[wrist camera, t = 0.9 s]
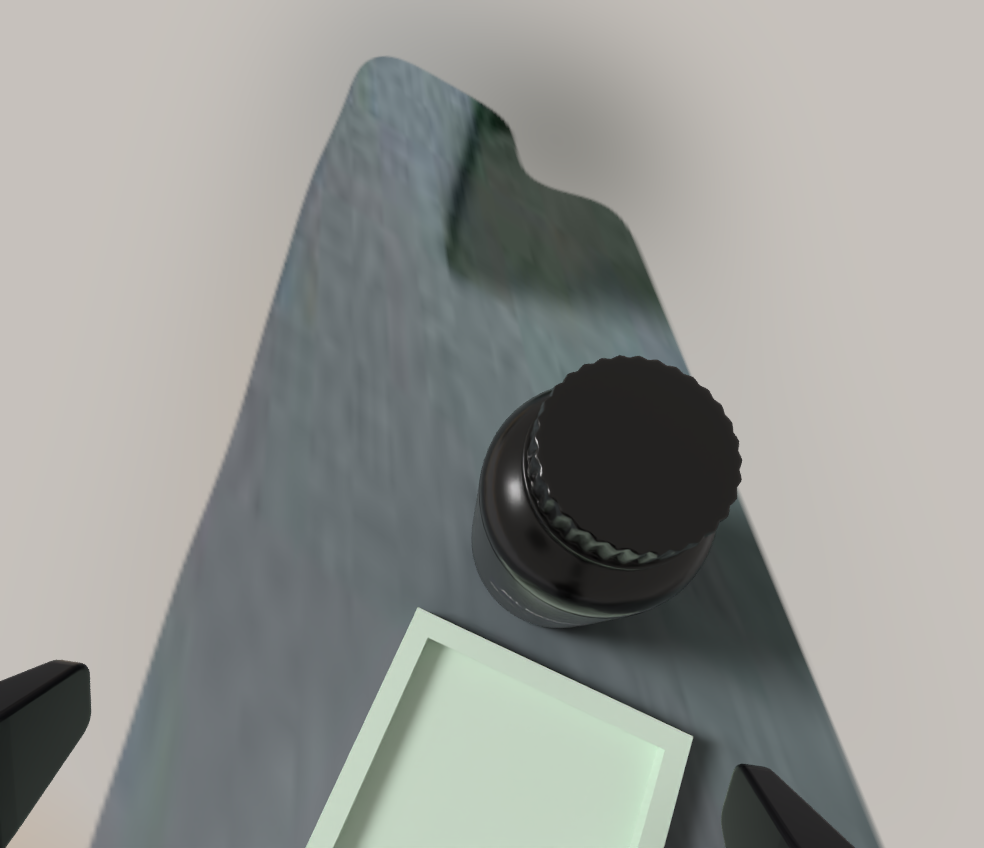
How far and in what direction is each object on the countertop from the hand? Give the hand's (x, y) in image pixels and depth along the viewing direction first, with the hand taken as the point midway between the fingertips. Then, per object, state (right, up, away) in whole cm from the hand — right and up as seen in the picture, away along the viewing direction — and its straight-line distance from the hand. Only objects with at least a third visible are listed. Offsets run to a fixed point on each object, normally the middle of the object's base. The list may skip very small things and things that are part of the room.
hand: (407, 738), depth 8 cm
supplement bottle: (+4, -1, +16) cm, 17 cm away
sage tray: (+1, -10, +12) cm, 16 cm away
